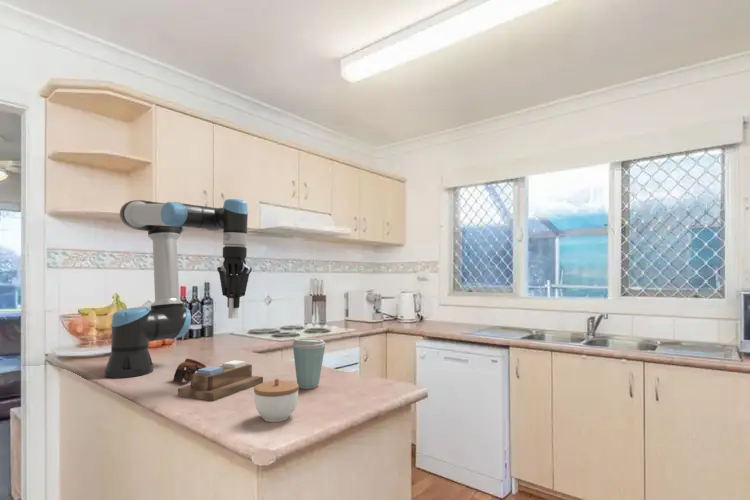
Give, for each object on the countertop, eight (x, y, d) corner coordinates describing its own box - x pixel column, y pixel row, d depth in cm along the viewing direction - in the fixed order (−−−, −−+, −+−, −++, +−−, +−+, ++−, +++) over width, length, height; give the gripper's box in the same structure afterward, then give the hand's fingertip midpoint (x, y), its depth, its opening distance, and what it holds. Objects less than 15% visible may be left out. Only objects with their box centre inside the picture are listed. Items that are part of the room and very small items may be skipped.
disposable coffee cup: (306, 380, 140) (306, 335, 141) (332, 384, 134) (332, 337, 135) (284, 388, 131) (284, 339, 132) (311, 392, 125) (311, 341, 126)
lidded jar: (306, 419, 102) (306, 380, 103) (263, 429, 96) (263, 387, 96) (287, 408, 111) (288, 372, 111) (247, 416, 105) (248, 378, 105)
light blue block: (197, 383, 124) (197, 369, 125) (210, 379, 129) (210, 366, 129) (210, 384, 122) (210, 370, 123) (222, 380, 127) (223, 367, 127)
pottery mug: (169, 381, 142) (181, 358, 146) (196, 391, 145) (207, 368, 149) (171, 379, 132) (184, 354, 136) (200, 390, 135) (212, 365, 139)
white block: (222, 375, 134) (222, 363, 134) (233, 372, 138) (234, 360, 138) (234, 377, 131) (234, 364, 132) (245, 373, 136) (245, 361, 136)
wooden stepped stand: (177, 395, 123) (178, 374, 124) (229, 379, 142) (230, 361, 143) (213, 400, 118) (214, 379, 118) (262, 383, 137) (263, 364, 137)
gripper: (211, 245, 139) (209, 317, 138) (242, 245, 133) (240, 320, 132) (228, 247, 145) (226, 315, 144) (258, 246, 140) (256, 317, 139)
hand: (233, 317), depth 138 cm, fingers closed
